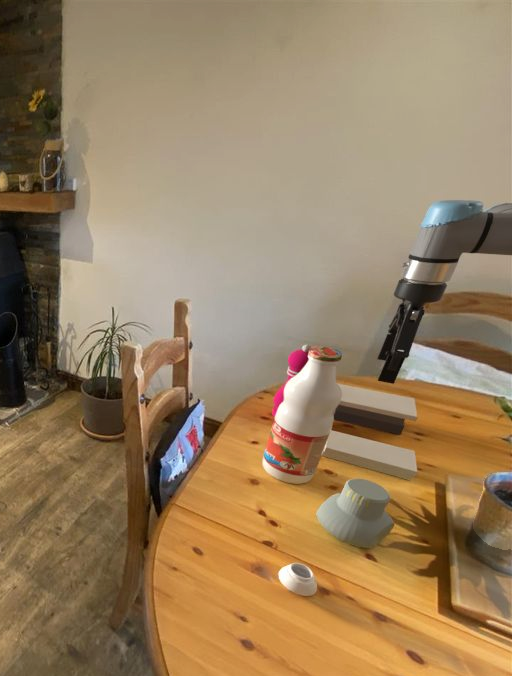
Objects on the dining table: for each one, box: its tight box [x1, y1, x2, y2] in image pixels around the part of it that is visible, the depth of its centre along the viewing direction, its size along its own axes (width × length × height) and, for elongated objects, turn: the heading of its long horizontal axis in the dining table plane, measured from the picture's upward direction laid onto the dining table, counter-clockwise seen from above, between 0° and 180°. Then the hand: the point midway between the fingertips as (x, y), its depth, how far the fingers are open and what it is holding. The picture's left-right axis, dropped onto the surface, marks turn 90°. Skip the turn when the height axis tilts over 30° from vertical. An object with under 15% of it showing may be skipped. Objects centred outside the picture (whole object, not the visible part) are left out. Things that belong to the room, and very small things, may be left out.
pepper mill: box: [271, 344, 312, 418], centre depth 103 cm, size 7×7×20 cm
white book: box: [338, 383, 418, 422], centre depth 101 cm, size 15×10×1 cm, turn 52°
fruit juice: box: [261, 346, 343, 485], centre depth 83 cm, size 9×9×28 cm
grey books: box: [333, 405, 406, 436], centre depth 103 cm, size 13×7×5 cm, turn 52°
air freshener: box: [315, 478, 395, 549], centre depth 72 cm, size 11×8×10 cm
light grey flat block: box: [321, 429, 418, 481], centre depth 91 cm, size 15×8×2 cm, turn 52°
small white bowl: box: [278, 562, 318, 597], centre depth 65 cm, size 5×3×5 cm
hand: (384, 370), depth 97 cm, fingers open, 13 cm apart
